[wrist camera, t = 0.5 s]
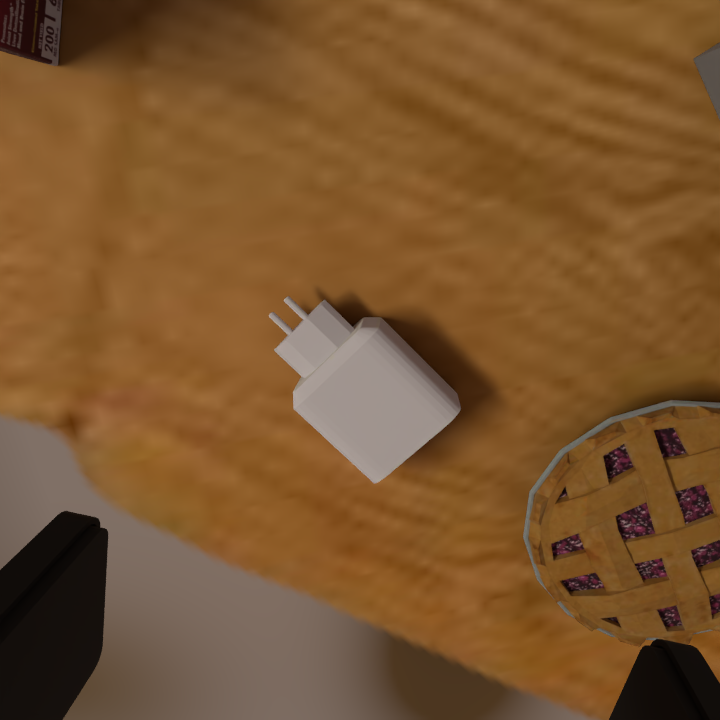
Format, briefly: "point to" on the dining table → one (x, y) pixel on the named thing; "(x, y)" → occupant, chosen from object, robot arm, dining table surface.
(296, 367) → the charger
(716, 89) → the button box
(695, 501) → the pie
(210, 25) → the dining table surface
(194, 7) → the dining table surface
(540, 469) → the dining table surface
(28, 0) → the supplement box
